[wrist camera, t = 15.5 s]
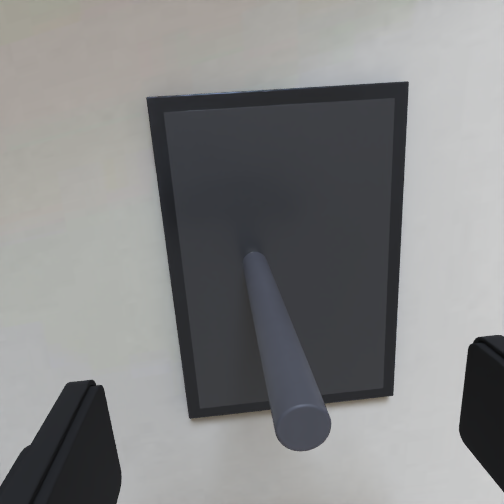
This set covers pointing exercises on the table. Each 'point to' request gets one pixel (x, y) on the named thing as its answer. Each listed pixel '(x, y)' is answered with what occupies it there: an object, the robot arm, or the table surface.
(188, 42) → the table surface
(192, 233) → the tablet
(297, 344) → the stylus
